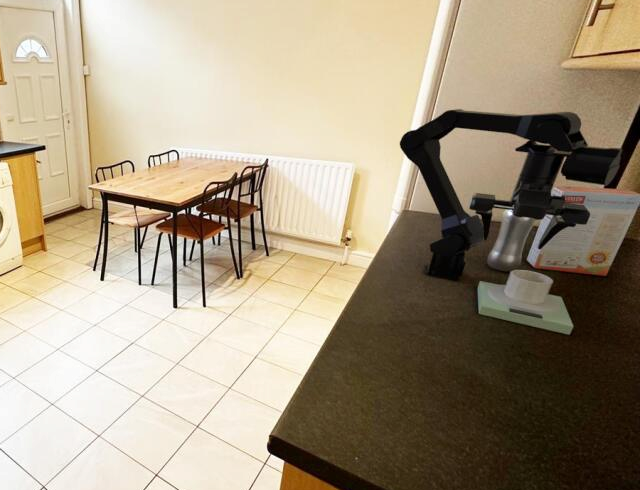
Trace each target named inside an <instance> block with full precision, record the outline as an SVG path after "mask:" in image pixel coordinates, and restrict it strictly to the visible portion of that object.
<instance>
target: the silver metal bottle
mask: <svg viewBox="0 0 640 490" xmlns="http://www.w3.org/2000/svg"><path fill="white" fill-rule="evenodd" d="M536 222H537V220H536V219H534V218H527V217H516V216H514V215H513V210H507V209H504V211H503V212H502V217H501V223H500V228H499V232H498V235H497V238H496V240H495V243H494V245H493V247H492V249H491V250H490V252H489V254H488V256H487V260H486V263H487V265H488V266H489V267H490V268H492V269H494V270H496V271H497V270H498V271H501V272H509V273H510V272H511V271H513V270H518V269H519V267H520V265H521V263H522V254H523V250H524V247H525V243H526V241H527V238H528V236H529V234H530V232H531V230H532V228H533V227H534V225H535V223H536Z"/></svg>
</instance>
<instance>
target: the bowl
mask: <svg viewBox="0 0 640 490" xmlns="http://www.w3.org/2000/svg"><path fill="white" fill-rule="evenodd" d="M553 284H554V279H553V278H551V277H549V276H548V275H546V274H543V273H541V272H537V271H533V270H527V269H516V270H513V271H510V272H509V275H508V277H507V280H506V283H505V284H504V285H505V288H504V292H505V295H506V296H508V297H509V298H511V299H513V300H516V301H519V302H523V303H528V304H540V303H542V302H544V301H545V300H546V297H547V295H548V294H549V292H550V290H551V288H552V285H553Z"/></svg>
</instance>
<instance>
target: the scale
mask: <svg viewBox="0 0 640 490" xmlns="http://www.w3.org/2000/svg"><path fill="white" fill-rule="evenodd" d="M505 285H506V284H497V283H493V282H487V281H482V280H480V281H479V283H478V285H477V304H478V315H482V316H487V317H491V318H495V319H500V320H502V321H503V320H504V321H509V322H513V323H516V324H520V325H525V326H530V327H533V328H538V329H542V330H546V331H550V332H556V333H559V334H564V335H568V336H570V335H571V333H572V331H573V329H574V324H573V322H572V319H571V317H570V315H569V312H568V310H567V307H566V305H565V303H564V300H563V297H562V296H558V295H554V294H549V293H548V295H547V297H546V300H545V301H544V302H542V303H540V304H528V303H523V302H519V301H516V300H513V299H511V298H509V297H508V296H506V295H505V292H504V288H505Z"/></svg>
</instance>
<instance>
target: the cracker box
mask: <svg viewBox="0 0 640 490" xmlns="http://www.w3.org/2000/svg"><path fill="white" fill-rule="evenodd" d="M551 196H562V197H565V203H570V204H579V205H584V206H585V207H586V208H587V209H588V211H589V212H590V217H589V219H588V222H587V224H585V225H581V224H576V226H575V227H567V228H565V229H563V230H561V231H560V232H559V233H557V234H556V235H555V236H554V237H552V239H551V240H550V241H549V242H548V243H547V244H546V245H545V246H544V247H542V248H541V249H538V245H539V242H540V240H541V238H542V236H543V234H544V232H545V230H546V228H547V226H548V224H549V222H550V221H551V219H552V217H553V215H545V217H544V219H541V220H540V223H539V225H538V228H537V231H536V233H535V236H534V239H533V241H532V244H531V247H530V249H529V252H528V255H527V258H526V261H527V262H528V264H530V265H531V266H532V267H533V268H534V269H539V270H547V271H557V272H566V273H575V274H584V275H592V276H593V275H594V276H602V277H606V276H607V275H608V273H609V270H610V268H611V267H612V264H613V262H614V259H615V257H616V255H617V254H618V251H619V249H620V247H621V245H622V243H623V241H624V238H625V236H626V234H627V232H628V230H629V228H630V225H631V223H632V221H633V219H634V216H635V215H636V212H637V210H638V208H639V206H640V192H639V193H638V192H636V191H634V190H631V189H623V188H621V189H620V188H603V187H587V186H586V187H585V186H584V187H583V186H563V185H553V188H552V190H551Z"/></svg>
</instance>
